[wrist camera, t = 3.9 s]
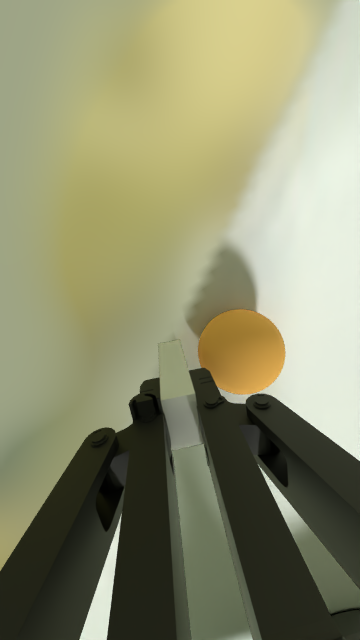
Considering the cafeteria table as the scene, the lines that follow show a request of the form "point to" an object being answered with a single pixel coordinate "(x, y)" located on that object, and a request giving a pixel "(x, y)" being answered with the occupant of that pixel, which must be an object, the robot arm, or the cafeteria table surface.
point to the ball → (242, 351)
